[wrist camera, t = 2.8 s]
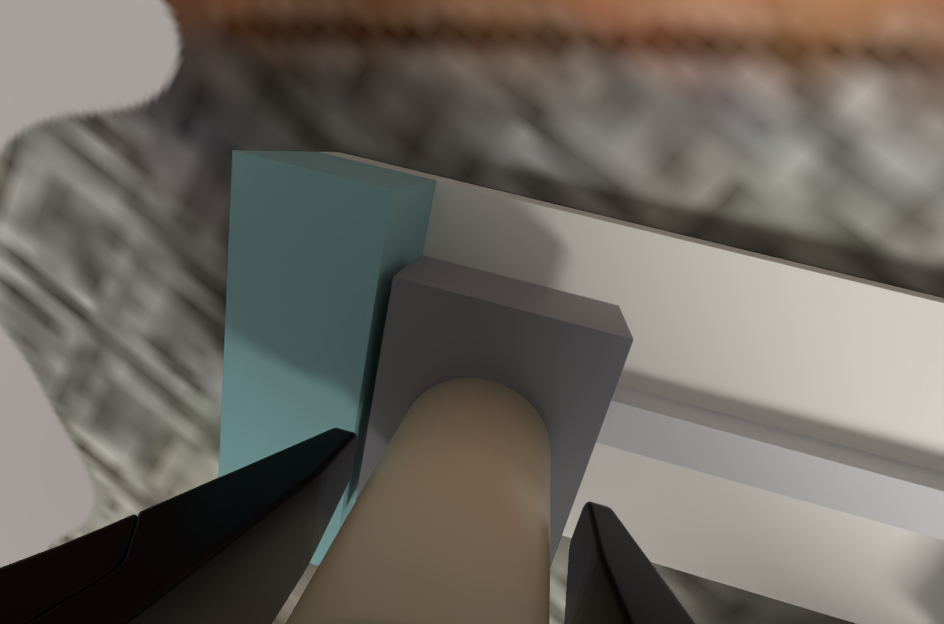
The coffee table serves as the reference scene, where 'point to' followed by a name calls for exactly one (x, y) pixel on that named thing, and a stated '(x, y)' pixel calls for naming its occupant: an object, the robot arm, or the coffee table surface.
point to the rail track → (641, 381)
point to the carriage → (470, 450)
